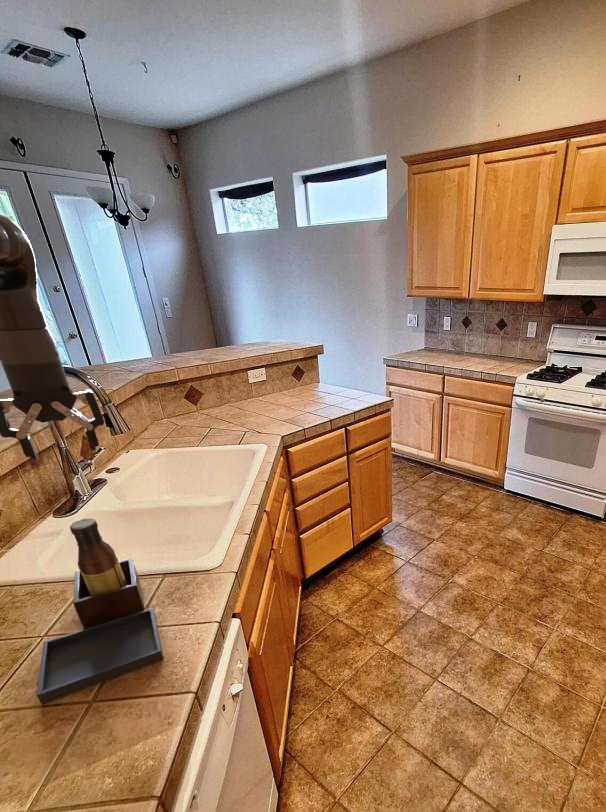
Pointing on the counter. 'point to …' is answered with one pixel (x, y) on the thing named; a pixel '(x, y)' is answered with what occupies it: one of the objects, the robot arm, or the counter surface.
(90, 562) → the sauce bottle
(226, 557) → the counter surface
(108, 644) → the tray
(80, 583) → the caddy
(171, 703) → the counter surface
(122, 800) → the counter surface
